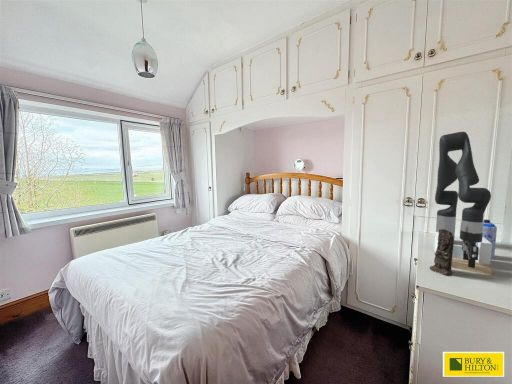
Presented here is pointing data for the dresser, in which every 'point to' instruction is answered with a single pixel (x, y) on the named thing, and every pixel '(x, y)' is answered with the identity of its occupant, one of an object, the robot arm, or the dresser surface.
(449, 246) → the statue
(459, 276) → the dresser surface
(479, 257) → the cabinet bay
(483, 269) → the shelf board
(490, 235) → the aerosol can
